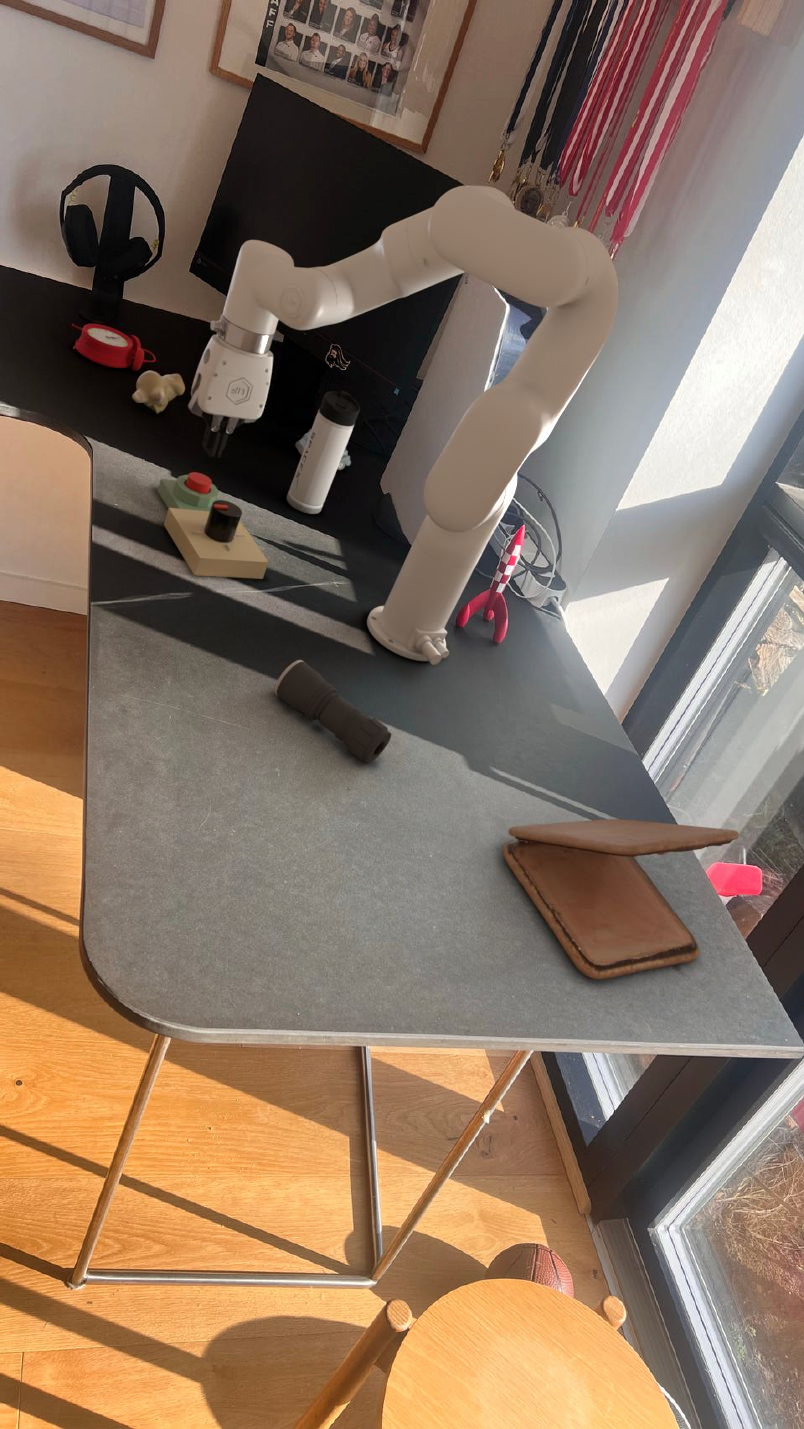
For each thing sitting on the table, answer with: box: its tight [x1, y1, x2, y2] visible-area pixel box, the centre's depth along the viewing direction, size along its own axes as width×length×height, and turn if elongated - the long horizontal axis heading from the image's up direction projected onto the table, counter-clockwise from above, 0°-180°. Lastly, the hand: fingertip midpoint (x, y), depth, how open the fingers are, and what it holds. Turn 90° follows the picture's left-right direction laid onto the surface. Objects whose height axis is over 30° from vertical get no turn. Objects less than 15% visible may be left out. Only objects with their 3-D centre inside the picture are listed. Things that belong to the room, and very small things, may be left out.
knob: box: [204, 499, 243, 543], centre depth 148 cm, size 4×4×5 cm
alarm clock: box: [71, 323, 156, 372], centre depth 190 cm, size 10×6×15 cm
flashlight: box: [273, 659, 392, 764], centre depth 126 cm, size 15×5×5 cm, turn 58°
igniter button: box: [186, 471, 213, 494], centre depth 156 cm, size 4×4×2 cm
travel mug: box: [286, 390, 361, 515], centre depth 170 cm, size 6×7×20 cm
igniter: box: [157, 474, 220, 511], centre depth 157 cm, size 9×8×4 cm
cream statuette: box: [131, 370, 186, 415], centre depth 179 cm, size 8×7×12 cm
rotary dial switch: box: [163, 508, 269, 580], centre depth 150 cm, size 13×11×3 cm
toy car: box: [294, 428, 352, 471], centre depth 191 cm, size 6×10×5 cm, turn 116°
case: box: [502, 818, 740, 980], centre depth 117 cm, size 20×21×16 cm
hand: (211, 452), depth 153 cm, fingers closed
